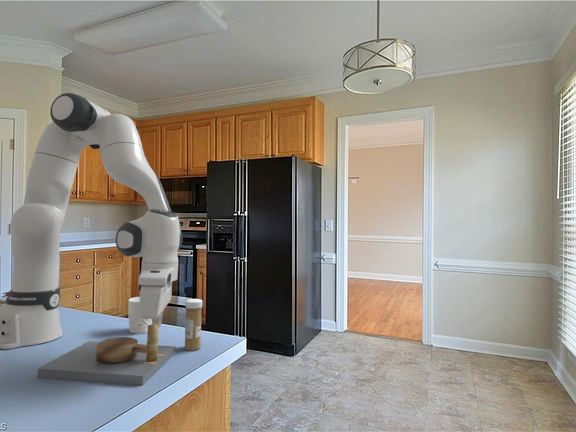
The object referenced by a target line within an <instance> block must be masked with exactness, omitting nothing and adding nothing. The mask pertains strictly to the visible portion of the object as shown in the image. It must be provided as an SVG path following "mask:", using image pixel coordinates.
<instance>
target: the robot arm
mask: <svg viewBox="0 0 576 432" xmlns="http://www.w3.org/2000/svg"><path fill="white" fill-rule="evenodd" d="M49 114H50V115H49V116H50V118H51V121H52V122H50V123H48V125H47V126H46V127H45V129H44V130H43V132H42V133H41V136H40V138H39V140H38V143H37V145H36V148H35V152H34V155H33V158H32V162H31V166H30V168H29V172H28V175H27V179H26V188H25V194H24V198H23V199H24V200H23V204H22V206H20V207H19V208H17V209H16V210H15V211H14V213H13V214H12V216H11V218H10V236H11V238H10V239H11V251H12V252H11V253H12V276H11V278H12V280H11V281H12V282H11V289H10V290H9V291H8V292H7V291H6V292H2V293H1V295H2V296H1V298H5V297H6V299H5V301H4V303H3V304H2V305H0V349H2V350H9V349H15V348H20V347H25V346H34V345H40V344H43V343H48V342H52V341H54V340H57V339H59V338H60V337H62V336H63V335H64V332H63V329H62V326H61V320H60V311H59V306H60V300H61V288H60V284H59V283H60V282H59V281H60V268H61V267H60V263H61V259H60V233H61V230H62V229H63V225H64V221H65V219H66V215H67V211H68V210H67V209H68V205H69V200H70V198H71V197H70V196H71V191H72V189H73V184H74V181H75V178H76V177H75V176H76V174H77V170H78V166H79V162H80V158H81V155H82V152H83V150H84V149H85V148H86V147H88V146H89V147H90V148H91V149H93V150H97V149H98V150H99V151H100V157H101V162H102V166H103V168H104V170H105V172H106V174H107V175H108V176H109V177H110V178H111V179H113V180H114V181H115V182H117V183H119V184H121V185H123V186H126V187H128V188H130V189H132V190H134V191H135V192H136V193H138V194H139V195H140V196H142V198H143V199H144V200H145V202H146V206H147V208H148V211H146V213H145V214H144V215H143V216H142V217H139V218H137V219H134V220H131V221H125V222H124V223H122V224H121V226H119V227H118V230H117V232H116V235H115V245H116V247H117V250H118V251H119V253H120V254H122V255H123V256H124V257H128V258H141V257H142V259H141V270H140V274H139V276H138V281H137V282H138V283H137V284H138V286H140V292H139V297H140V313H141V317H142V318H143V319H151V320H152V324H158V329H159V328H160V326H161V325H162V321H163V320H162V319H163V315H164V309H165V308H166V307H167V305H169V303H170V302H171V300H172V296H173V295H172V292H173V291H172V289H173V287H172V286H173V282H175V281H178V275H179V274H178V273H179V257H178V252H179V250H180V248H181V246H182V244H183V241H184V240H183V233H182V230H181V228H180V226H181V224H180V220H179V217H178V214H176V213H175V212H173V211H172V209H171V207H170V204H169V201H168V199H167V196H166V192H165V190H164V187H163V185H162V182H161V180H160V178H159V177H158V175H157V174H156V173H155V171H154V170H153V169H152V167H151V166H150V164H149V162H148V159H147V158H146V156H145V152H144V149H143V144H142V140H141V137H140V134H139V132H138V130H137V127H136V124H135V122H134V121H133V120H132V118H130V117H129V116H127V115H125V114H121V113H111V112H110V111H108V110H107V109H105V108H104V107H102V106H101V105H97V104H96V103H94V102H92V101H91V100H87V99H86V98H85V97H84V96H82V95H80V94H76V93H73V92H72V93H71V92H65V93H62V94H60V95H58V96H57V97H56V98H55V99H54V100H53V101H52V103H51V105H50V110H49Z"/></svg>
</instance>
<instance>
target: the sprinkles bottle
mask: <svg viewBox="0 0 576 432" xmlns="http://www.w3.org/2000/svg"><path fill="white" fill-rule="evenodd" d="M202 308H203V300H202V299H200V298H190V299H186V300H185V323H184V349H185V350H187V351H197V350H199V349H200V348H201V340H202V339H201V336H202Z"/></svg>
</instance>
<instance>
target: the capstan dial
mask: <svg viewBox="0 0 576 432" xmlns="http://www.w3.org/2000/svg"><path fill="white" fill-rule="evenodd" d="M146 334H147V336H146V338H147V339H146V344H144V345H139V344H140V343H139V341H138V340H137V338H134V337H130V336H129V337H128V336H118V337H112V338H107V339H104V340H101V341H98V342H99V343H98V344H97V350H96V360H97V361H99V362H103V363H117V362H123V361H127V360H130V359H132V358H134V357H135V356H136V355H137V352H139V353H147V356H146V360H147V361H154V360H156V359H157V348H158V343H159V328H158V324H150V325H148V332H147V333H146Z"/></svg>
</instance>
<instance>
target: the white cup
mask: <svg viewBox="0 0 576 432" xmlns="http://www.w3.org/2000/svg"><path fill="white" fill-rule="evenodd" d="M127 303H128V306H127V307H128V311H127V312H128V315H127V316H128V317H127V318H128V332H129V333H130V334H133V335H134V334H137V335H141V334H147V333H148V325H150V324H152V320H151V319H143V318H142V317H141V313H140V296H135V297H131V298H129V299H128V300H127Z"/></svg>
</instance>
